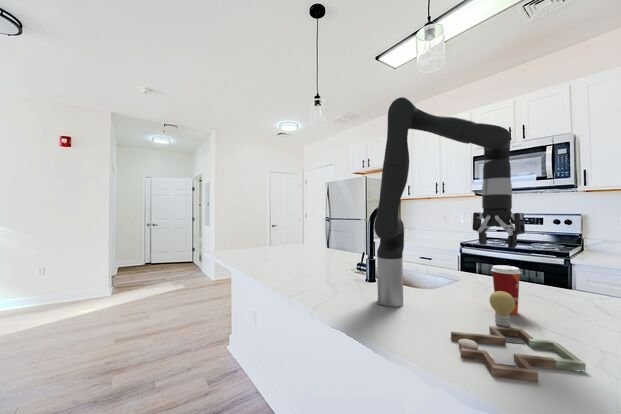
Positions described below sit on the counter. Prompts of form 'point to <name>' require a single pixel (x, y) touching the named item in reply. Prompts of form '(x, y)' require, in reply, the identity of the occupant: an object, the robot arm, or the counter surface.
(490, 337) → the brown green zigzag frame
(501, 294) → the light bulb
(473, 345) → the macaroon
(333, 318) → the counter surface
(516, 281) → the coffee cup
